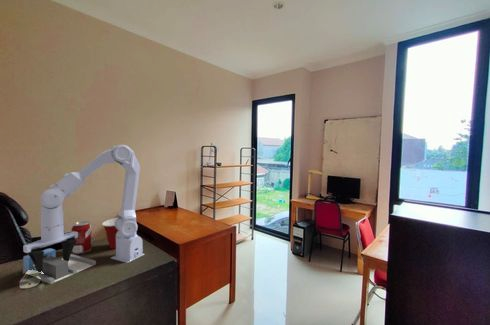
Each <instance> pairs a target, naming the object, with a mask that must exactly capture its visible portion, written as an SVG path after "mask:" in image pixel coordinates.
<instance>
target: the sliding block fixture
mask: <svg viewBox="0 0 490 325" xmlns="http://www.w3.org/2000/svg"><path fill="white" fill-rule="evenodd" d="M42 251H44V255H43V257H44V256H46V257H49V256H53V257H56V254H57V253H56V252H57V251H56V249H54V248H46V249H44V250H42ZM56 258H57V257H56ZM61 259H62V260H63V258H61ZM96 264H97V261H96V260H94V259H91V258H86V257H84V256H83V257H82V256H79V255H78V254H74V253H71V255H70V258H69V261H68V275H66V276H64V277H62V278H59V279H57V280H55V279H54V278H52V277H49V276H47V275H44V274H41V273H39V274H38V276H39V277H40V278H41V280H40V281H41V282H45V283H47V284H50V285H51V284H54V283H56V282H58V281H61V280H64V279H65V278H68V277H71V276H73V275H75V274H77V273H79V272H81V271H84V270H86V269H89V268H91V267H93V266H95V265H96ZM32 269H34V263H33V261H32V259H31V258H30V257H29V255H28V254H27V255H24V256H23V269H22V274H24V273H26V272H27V271H28V270H32Z"/></svg>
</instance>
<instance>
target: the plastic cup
mask: <svg viewBox="0 0 490 325" xmlns="http://www.w3.org/2000/svg"><path fill="white" fill-rule="evenodd" d="M117 218H118V217H116V218H115V217H114V218H111V219H107V220H105V221H103V222H102V223H101V225H102V227H104V230H105V234H106V237H107V238H106V239H107V242H108V246H109V249H110V250H116V234H117V232H118V230H117V229H116V227H115V222H116V220H117Z"/></svg>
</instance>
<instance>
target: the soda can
mask: <svg viewBox="0 0 490 325" xmlns="http://www.w3.org/2000/svg"><path fill="white" fill-rule="evenodd" d="M70 230H71V232H74V231H75V232H78V238H75V239H77V243H76V244H75V246H74V247H73V249H72V252H71V254H73V255H79V254H84V253H88V252H90V251H91V250H92V249H93V244H92V243H93V242H92V240H93V238H92V237H93V236H92V230H93V229H92V225H91V224H90V221H86V220H84V221H77V222H75V223H73V226H72V227H71V229H70Z"/></svg>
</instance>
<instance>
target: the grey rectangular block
mask: <svg viewBox="0 0 490 325" xmlns="http://www.w3.org/2000/svg"><path fill="white" fill-rule="evenodd" d="M62 259H63V258H59V257H53V256H49V257H47V256H46V257H43V270H42V272H43V273H44V275H47V276H49V277H52V278H54V279H55V280H57V279H59V278H62V277H64V276H66V275H68V261H66V260H62Z"/></svg>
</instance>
